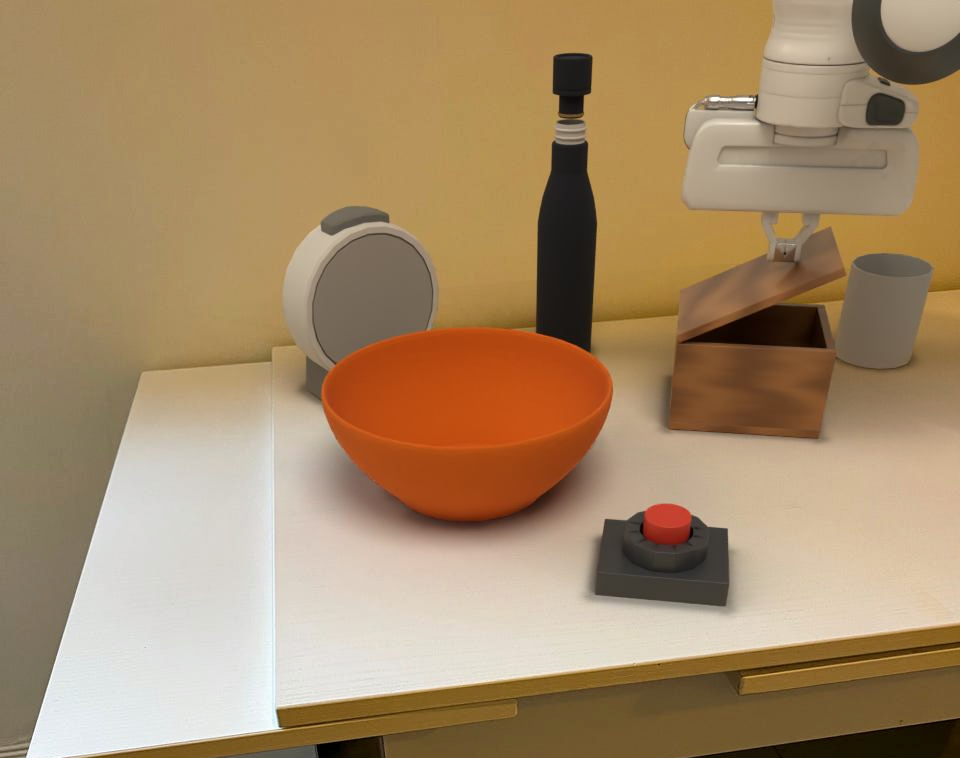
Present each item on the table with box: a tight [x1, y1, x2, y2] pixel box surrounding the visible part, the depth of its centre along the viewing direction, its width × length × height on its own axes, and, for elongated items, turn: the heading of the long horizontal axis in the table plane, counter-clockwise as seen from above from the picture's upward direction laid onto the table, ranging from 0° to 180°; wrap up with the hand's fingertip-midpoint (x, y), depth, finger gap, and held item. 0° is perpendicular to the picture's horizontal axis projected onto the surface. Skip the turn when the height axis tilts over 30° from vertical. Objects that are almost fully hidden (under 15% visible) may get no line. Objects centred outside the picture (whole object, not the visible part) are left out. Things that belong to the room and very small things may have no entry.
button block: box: [594, 510, 730, 607], centre depth 79 cm, size 10×8×4 cm
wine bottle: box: [535, 52, 598, 354], centre depth 106 cm, size 6×6×30 cm
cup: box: [834, 252, 935, 370], centre depth 110 cm, size 8×8×10 cm
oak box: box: [667, 302, 837, 439], centre depth 101 cm, size 15×13×9 cm
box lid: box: [676, 226, 847, 343], centre depth 96 cm, size 16×13×1 cm
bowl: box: [320, 326, 614, 522], centre depth 89 cm, size 25×25×10 cm
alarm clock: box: [281, 205, 440, 400], centre depth 104 cm, size 16×10×18 cm, turn 126°
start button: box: [643, 503, 692, 545], centre depth 77 cm, size 4×4×2 cm
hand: (782, 260), depth 94 cm, fingers closed
